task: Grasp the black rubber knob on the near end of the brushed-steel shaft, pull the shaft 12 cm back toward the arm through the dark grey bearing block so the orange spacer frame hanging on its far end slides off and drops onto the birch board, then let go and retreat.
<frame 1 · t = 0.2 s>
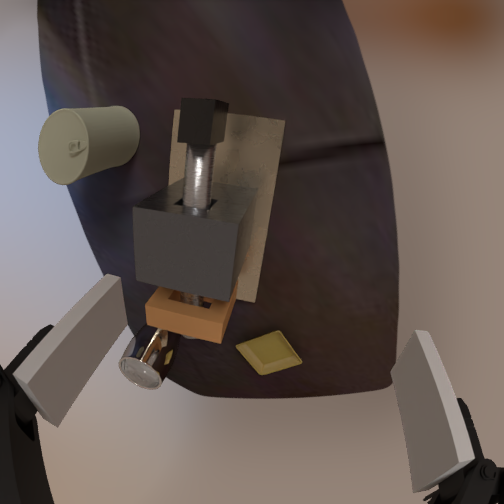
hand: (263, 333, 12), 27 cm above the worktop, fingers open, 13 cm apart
beer glass: (176, 310, 48), on the worktop
spacer: (204, 283, 39), point 4 cm above the worktop, touching shaft
shaft: (194, 234, 29), point 10 cm above the worktop, slide at 0.0 cm, touching spacer
can: (114, 136, 36), on the worktop
saucer: (270, 346, 49), on the worktop
bearing block: (218, 209, 39), on the worktop
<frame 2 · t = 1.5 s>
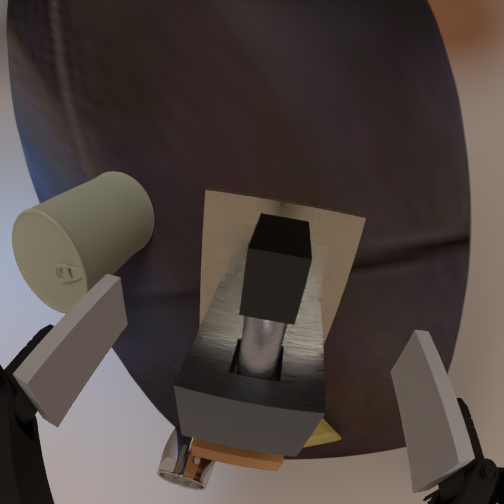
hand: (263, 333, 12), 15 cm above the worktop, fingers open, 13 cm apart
beer glass: (208, 397, 40), on the worktop
spacer: (249, 394, 31), point 4 cm above the worktop, touching shaft
shaft: (252, 386, 22), point 10 cm above the worktop, slide at 0.0 cm, touching spacer
can: (118, 213, 28), on the worktop
saucer: (309, 424, 41), on the worktop
bearing block: (265, 316, 31), on the worktop
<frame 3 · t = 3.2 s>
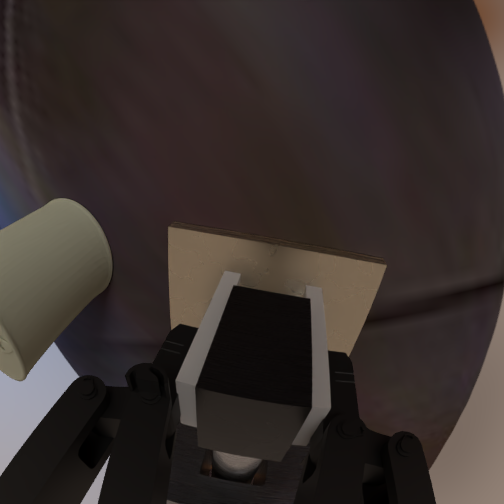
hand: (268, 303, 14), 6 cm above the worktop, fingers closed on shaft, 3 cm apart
shaft: (232, 472, 15), point 10 cm above the worktop, slide at 0.0 cm, touching gripper, spacer
can: (73, 248, 21), on the worktop
bearing block: (253, 373, 24), on the worktop
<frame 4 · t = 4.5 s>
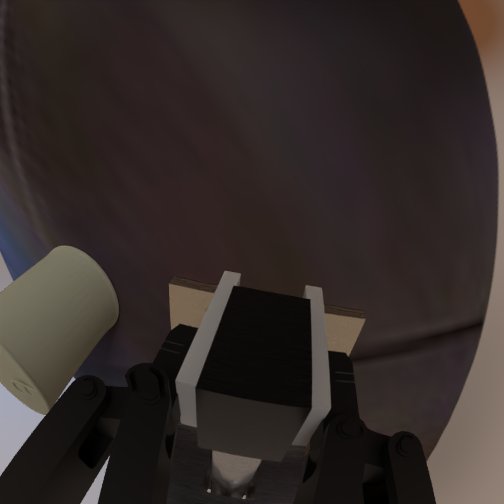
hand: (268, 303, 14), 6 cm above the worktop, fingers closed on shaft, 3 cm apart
shaft: (232, 471, 15), point 10 cm above the worktop, slide at 4.3 cm, touching gripper, spacer
can: (81, 288, 23), on the worktop
bearing block: (247, 399, 26), on the worktop
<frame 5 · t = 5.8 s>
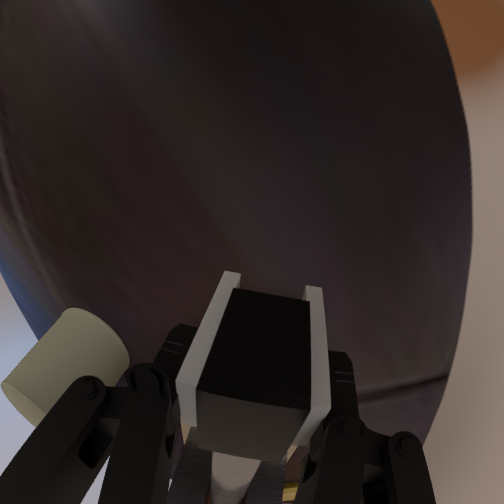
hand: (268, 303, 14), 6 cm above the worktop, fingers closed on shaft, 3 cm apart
shaft: (232, 472, 15), point 10 cm above the worktop, slide at 11.1 cm, touching gripper
can: (94, 341, 26), on the worktop
saucer: (288, 485, 39), on the worktop
bearing block: (240, 429, 29), on the worktop
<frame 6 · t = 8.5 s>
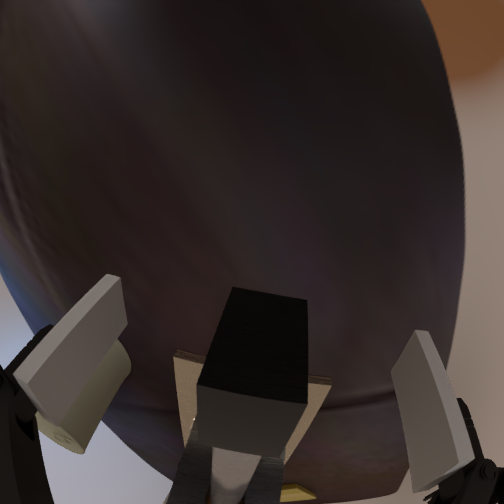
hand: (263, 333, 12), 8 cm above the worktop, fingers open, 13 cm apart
shaft: (232, 470, 15), point 10 cm above the worktop, slide at 11.9 cm
can: (97, 347, 27), on the worktop
saucer: (287, 486, 39), on the worktop
bearing block: (239, 431, 29), on the worktop
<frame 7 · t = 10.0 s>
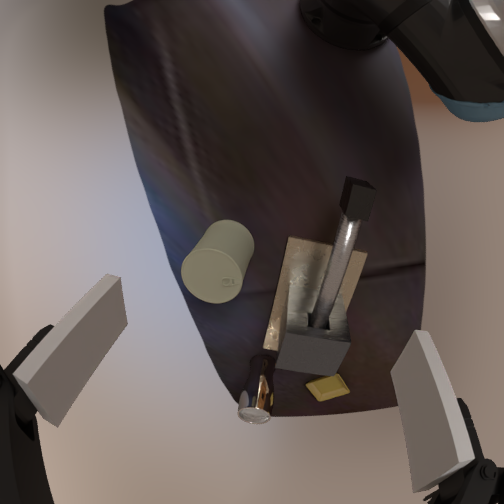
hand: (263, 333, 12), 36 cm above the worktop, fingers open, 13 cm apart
beer glass: (263, 362, 63), on the worktop
shaft: (334, 275, 39), point 10 cm above the worktop, slide at 11.9 cm
can: (228, 243, 51), on the worktop
saucer: (328, 382, 64), on the worktop
bearing block: (310, 304, 54), on the worktop
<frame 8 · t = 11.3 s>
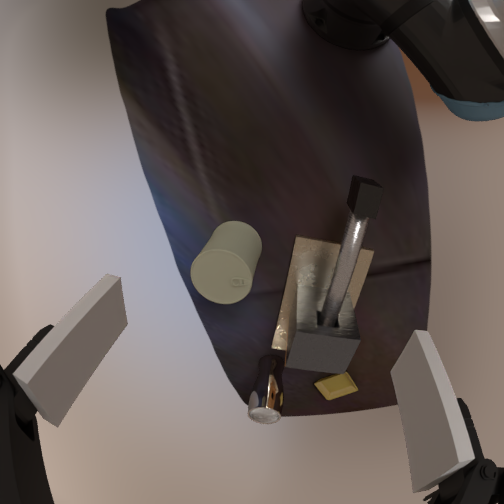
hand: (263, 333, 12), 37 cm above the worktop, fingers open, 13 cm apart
beer glass: (271, 362, 63), on the worktop
shaft: (342, 273, 39), point 10 cm above the worktop, slide at 11.9 cm
can: (236, 244, 51), on the worktop
saucer: (336, 380, 64), on the worktop
bearing block: (318, 302, 54), on the worktop
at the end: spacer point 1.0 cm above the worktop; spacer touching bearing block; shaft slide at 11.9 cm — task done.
